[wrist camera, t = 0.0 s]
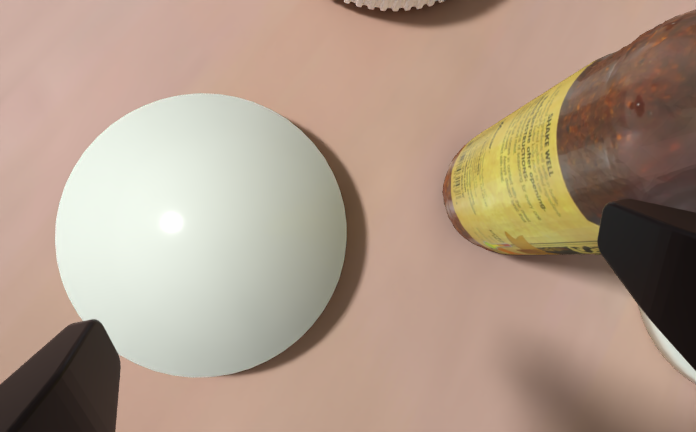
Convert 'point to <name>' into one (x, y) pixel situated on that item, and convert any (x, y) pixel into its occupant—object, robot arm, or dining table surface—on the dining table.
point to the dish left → (201, 234)
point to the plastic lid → (393, 4)
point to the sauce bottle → (584, 150)
